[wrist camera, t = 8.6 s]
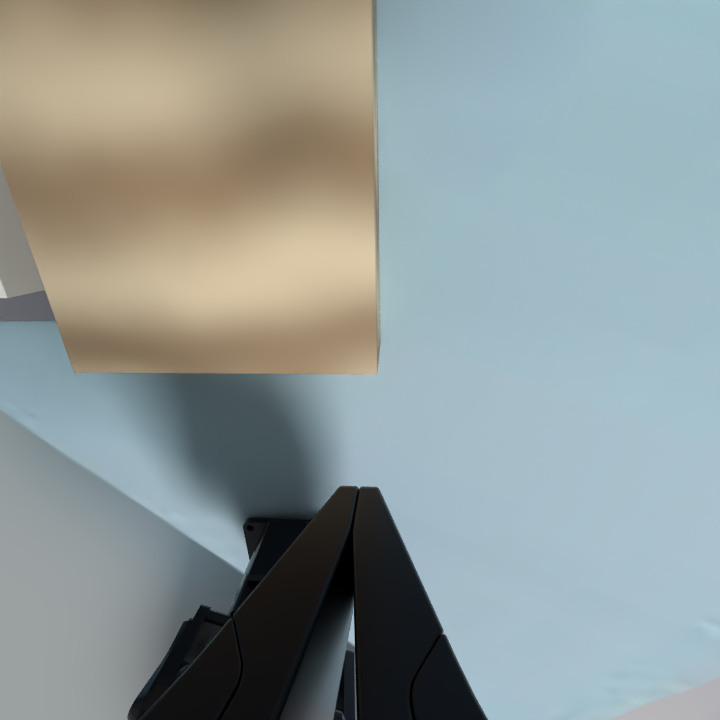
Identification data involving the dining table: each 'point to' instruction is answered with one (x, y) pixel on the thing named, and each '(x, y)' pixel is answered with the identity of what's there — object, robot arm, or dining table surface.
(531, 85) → the dining table surface
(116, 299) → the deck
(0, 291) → the white box
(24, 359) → the dining table surface
